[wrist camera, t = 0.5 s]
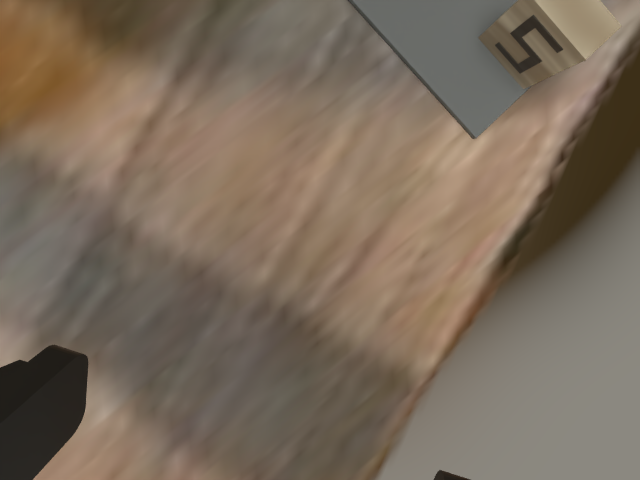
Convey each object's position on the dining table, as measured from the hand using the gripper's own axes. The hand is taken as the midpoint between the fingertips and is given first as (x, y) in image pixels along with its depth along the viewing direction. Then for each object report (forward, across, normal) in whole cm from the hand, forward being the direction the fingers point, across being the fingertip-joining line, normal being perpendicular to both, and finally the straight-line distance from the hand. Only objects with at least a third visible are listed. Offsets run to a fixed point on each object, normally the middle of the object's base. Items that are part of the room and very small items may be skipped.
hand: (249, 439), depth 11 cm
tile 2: (+28, -7, -10) cm, 31 cm away
